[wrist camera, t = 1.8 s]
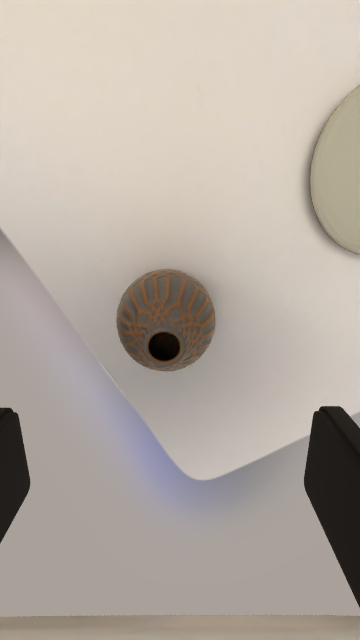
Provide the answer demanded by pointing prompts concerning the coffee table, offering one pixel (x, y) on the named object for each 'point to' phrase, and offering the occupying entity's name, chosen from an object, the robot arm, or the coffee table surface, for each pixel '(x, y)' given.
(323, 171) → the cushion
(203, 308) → the vase
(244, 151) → the coffee table surface
